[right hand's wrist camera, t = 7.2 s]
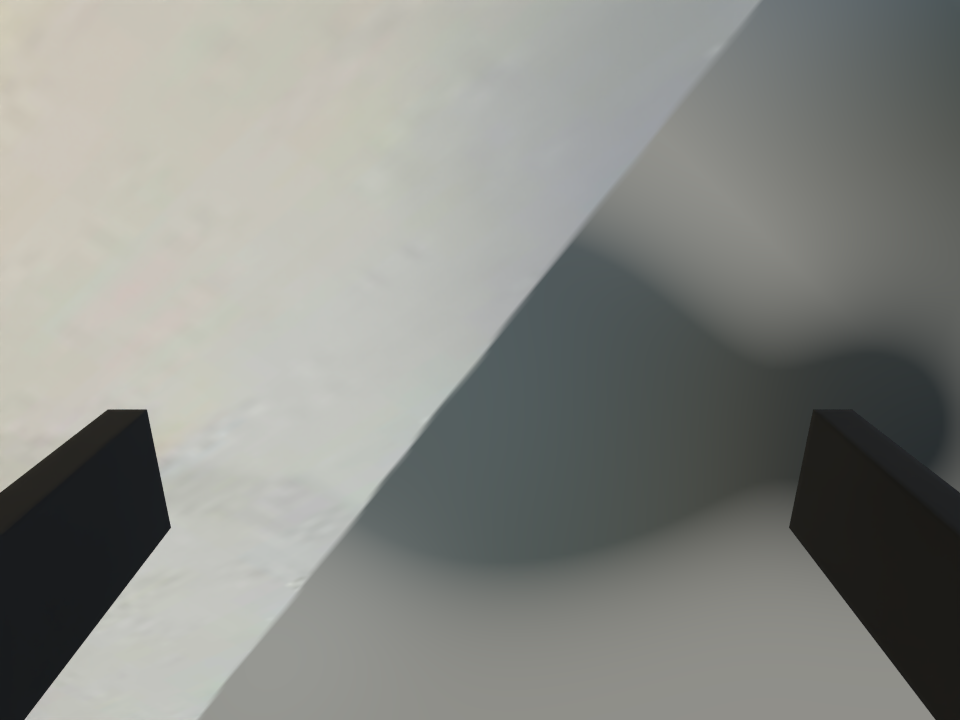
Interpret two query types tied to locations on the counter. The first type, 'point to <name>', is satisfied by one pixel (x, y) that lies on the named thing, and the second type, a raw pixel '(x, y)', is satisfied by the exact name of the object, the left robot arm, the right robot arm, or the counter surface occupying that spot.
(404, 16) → the counter surface
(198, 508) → the counter surface
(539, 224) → the counter surface
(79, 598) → the right robot arm
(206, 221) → the counter surface
